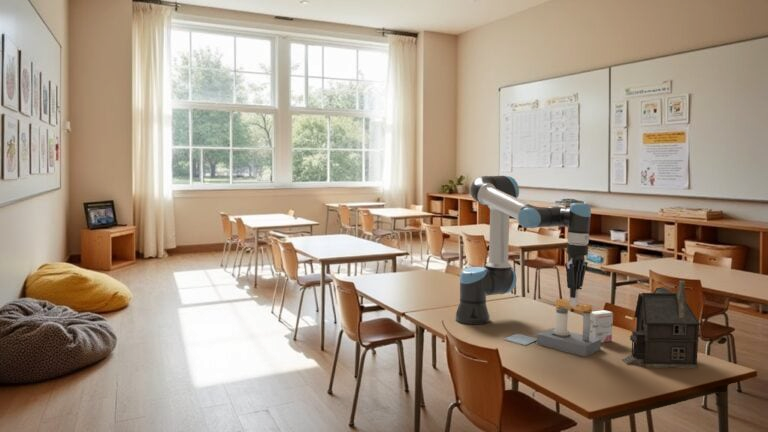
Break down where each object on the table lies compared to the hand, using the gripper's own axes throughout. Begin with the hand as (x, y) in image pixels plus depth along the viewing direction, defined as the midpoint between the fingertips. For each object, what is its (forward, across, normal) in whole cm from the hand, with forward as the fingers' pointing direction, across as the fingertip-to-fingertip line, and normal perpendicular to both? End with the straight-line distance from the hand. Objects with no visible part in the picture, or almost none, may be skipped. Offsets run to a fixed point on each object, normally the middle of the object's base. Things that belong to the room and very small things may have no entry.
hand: (573, 305), depth 211 cm
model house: (+16, +12, -26) cm, 33 cm away
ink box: (+16, +17, -3) cm, 24 cm away
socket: (+16, +1, +2) cm, 17 cm away
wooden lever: (+4, +2, +1) cm, 4 cm away
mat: (+17, -5, +19) cm, 26 cm away
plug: (+16, +1, +5) cm, 17 cm away
